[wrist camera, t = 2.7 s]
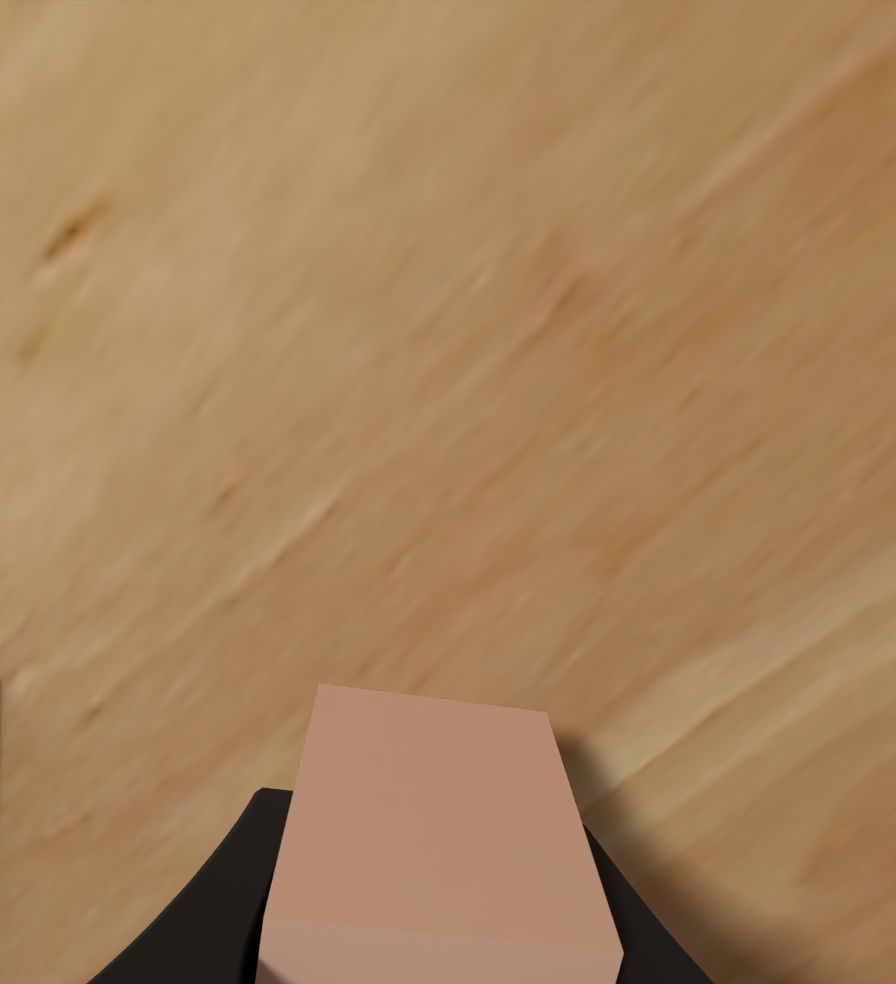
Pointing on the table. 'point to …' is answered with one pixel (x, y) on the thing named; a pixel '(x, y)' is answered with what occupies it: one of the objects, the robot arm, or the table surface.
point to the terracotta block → (433, 852)
